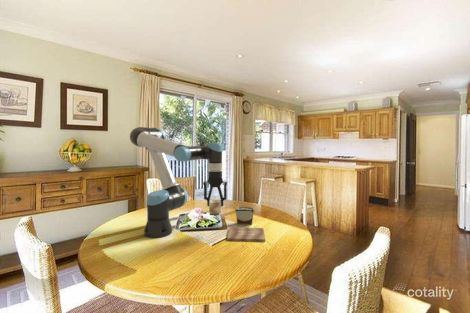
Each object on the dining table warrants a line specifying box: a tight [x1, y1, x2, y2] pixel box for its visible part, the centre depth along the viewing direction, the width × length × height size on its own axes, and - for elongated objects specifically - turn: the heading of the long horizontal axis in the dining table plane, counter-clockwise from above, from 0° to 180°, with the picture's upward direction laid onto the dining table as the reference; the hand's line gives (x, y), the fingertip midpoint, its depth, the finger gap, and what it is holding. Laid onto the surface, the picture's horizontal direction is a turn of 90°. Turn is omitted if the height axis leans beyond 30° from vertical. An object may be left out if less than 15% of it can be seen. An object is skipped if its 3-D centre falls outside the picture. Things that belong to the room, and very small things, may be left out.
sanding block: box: [209, 199, 221, 216], centre depth 133 cm, size 5×9×6 cm, turn 178°
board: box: [226, 226, 266, 243], centre depth 133 cm, size 20×16×1 cm
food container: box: [234, 205, 255, 226], centre depth 153 cm, size 12×6×10 cm, turn 84°
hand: (215, 211), depth 133 cm, fingers closed on sanding block, 5 cm apart
